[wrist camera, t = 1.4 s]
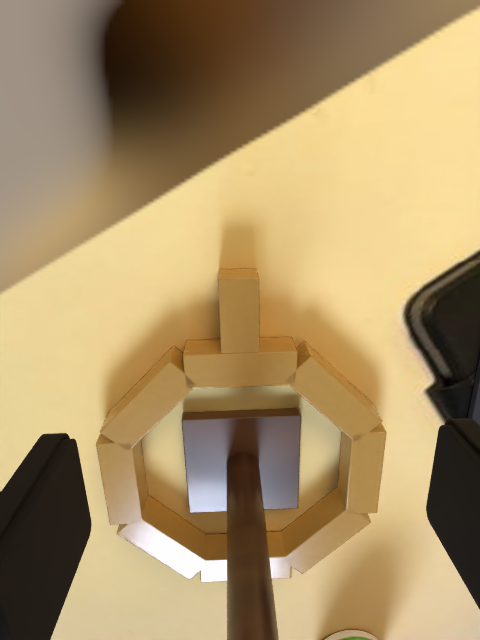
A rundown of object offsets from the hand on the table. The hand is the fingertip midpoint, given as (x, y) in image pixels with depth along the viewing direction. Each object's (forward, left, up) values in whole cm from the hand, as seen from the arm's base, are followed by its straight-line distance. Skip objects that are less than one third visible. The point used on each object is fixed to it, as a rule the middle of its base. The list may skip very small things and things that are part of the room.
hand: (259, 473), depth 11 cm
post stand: (+10, 0, -13) cm, 16 cm away
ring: (+8, 0, -13) cm, 15 cm away
